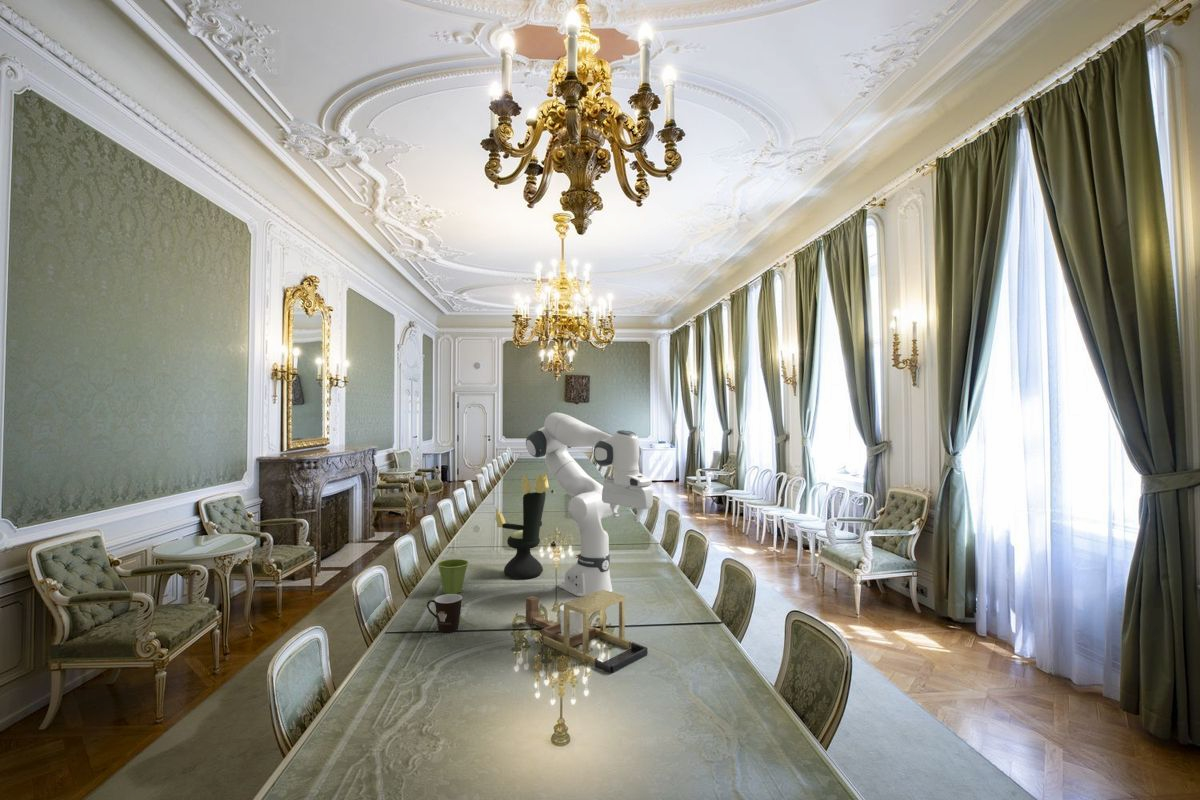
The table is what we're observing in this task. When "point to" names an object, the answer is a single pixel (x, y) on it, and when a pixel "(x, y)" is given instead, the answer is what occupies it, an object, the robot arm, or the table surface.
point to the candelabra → (526, 531)
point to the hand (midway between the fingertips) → (626, 519)
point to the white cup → (572, 622)
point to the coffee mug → (447, 612)
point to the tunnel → (598, 631)
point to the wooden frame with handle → (551, 624)
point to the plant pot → (452, 575)
